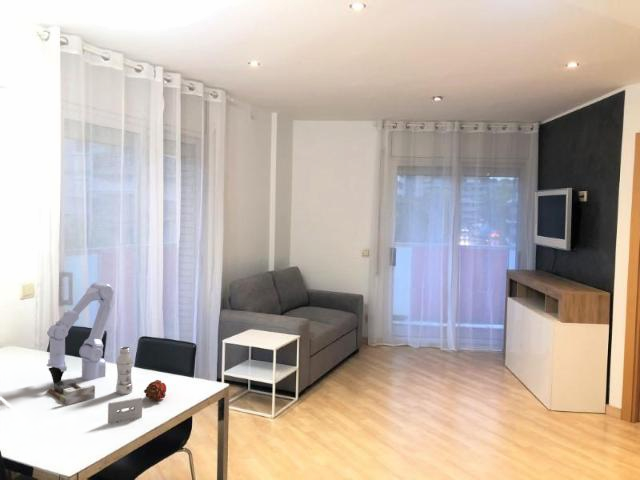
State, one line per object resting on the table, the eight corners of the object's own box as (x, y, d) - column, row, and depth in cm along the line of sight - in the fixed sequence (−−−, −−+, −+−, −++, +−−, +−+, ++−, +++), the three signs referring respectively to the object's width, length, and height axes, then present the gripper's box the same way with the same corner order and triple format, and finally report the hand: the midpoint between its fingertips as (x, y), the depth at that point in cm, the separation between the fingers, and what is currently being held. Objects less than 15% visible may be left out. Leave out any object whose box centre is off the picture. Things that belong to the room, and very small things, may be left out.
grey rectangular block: (70, 387, 209) (71, 379, 209) (75, 390, 206) (76, 382, 206) (53, 391, 204) (53, 383, 204) (58, 394, 201) (58, 386, 201)
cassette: (141, 416, 186) (141, 396, 186) (142, 418, 185) (142, 398, 184) (107, 423, 179) (107, 402, 179) (108, 424, 178) (108, 404, 177)
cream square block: (72, 391, 204) (72, 386, 204) (76, 394, 202) (76, 389, 202) (63, 394, 202) (63, 389, 202) (67, 396, 199) (67, 391, 199)
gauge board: (73, 387, 212) (73, 373, 212) (94, 400, 199) (94, 385, 199) (46, 393, 204) (46, 379, 204) (66, 407, 191) (66, 392, 191)
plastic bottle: (135, 393, 208) (136, 347, 207) (123, 398, 202) (124, 351, 201) (124, 390, 211) (125, 345, 210) (112, 395, 205) (112, 348, 204)
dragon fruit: (155, 409, 197) (152, 402, 208) (173, 394, 200) (169, 388, 211) (142, 393, 196) (140, 387, 206) (160, 378, 199) (157, 373, 210)
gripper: (40, 350, 211) (40, 381, 212) (54, 358, 202) (53, 390, 203) (58, 347, 217) (57, 377, 217) (71, 355, 207) (71, 386, 208)
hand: (56, 383), depth 210 cm, fingers closed
